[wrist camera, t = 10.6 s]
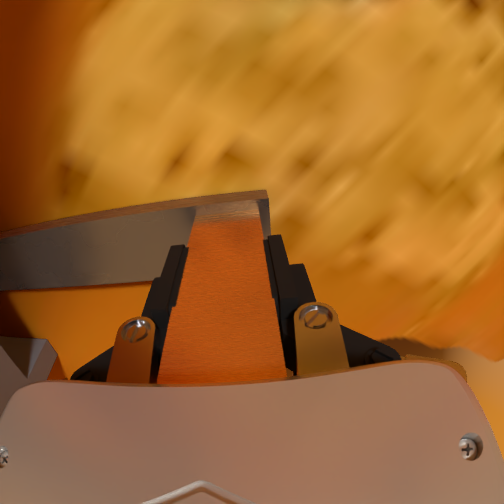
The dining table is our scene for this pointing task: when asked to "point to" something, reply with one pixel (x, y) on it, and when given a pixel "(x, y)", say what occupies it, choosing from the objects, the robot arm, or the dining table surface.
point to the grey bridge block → (23, 364)
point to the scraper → (192, 283)
